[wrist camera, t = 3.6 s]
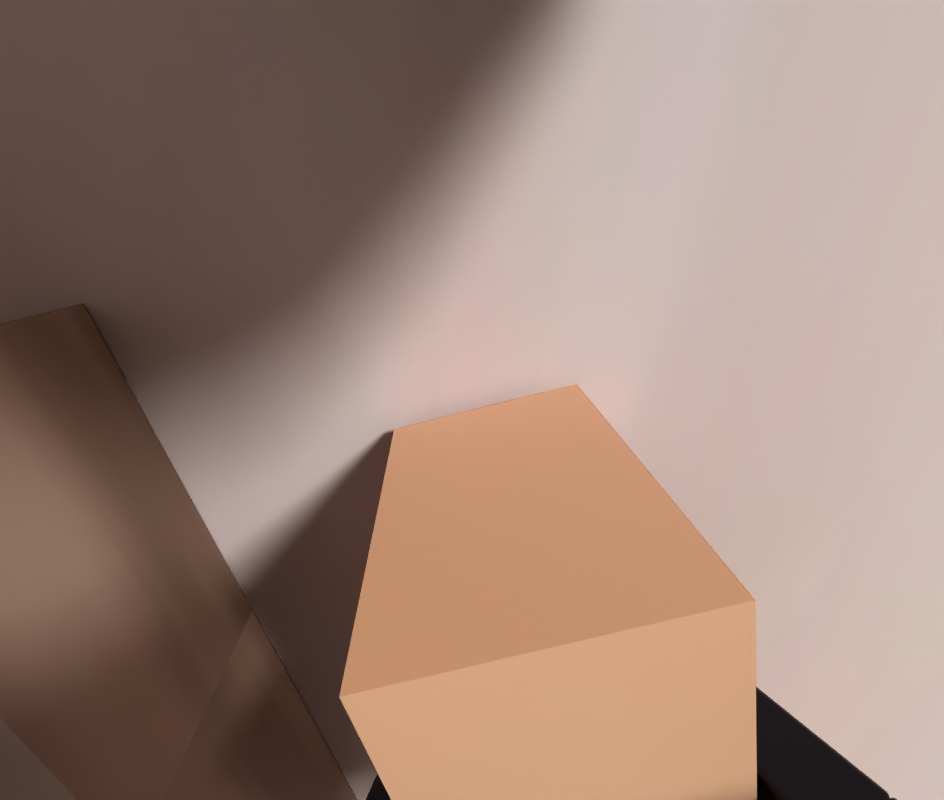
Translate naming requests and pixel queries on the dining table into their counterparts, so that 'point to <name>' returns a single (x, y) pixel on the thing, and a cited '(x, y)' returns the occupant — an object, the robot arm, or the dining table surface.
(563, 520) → the wooden building block
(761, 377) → the dining table surface
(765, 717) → the robot arm
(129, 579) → the u-shaped stone cradle
